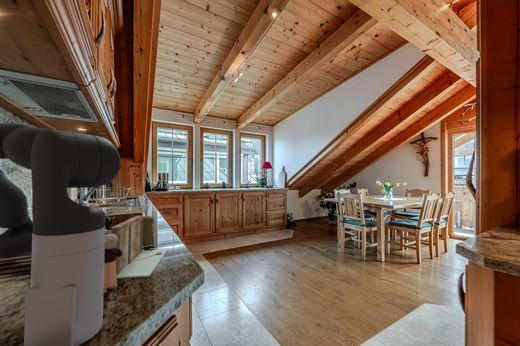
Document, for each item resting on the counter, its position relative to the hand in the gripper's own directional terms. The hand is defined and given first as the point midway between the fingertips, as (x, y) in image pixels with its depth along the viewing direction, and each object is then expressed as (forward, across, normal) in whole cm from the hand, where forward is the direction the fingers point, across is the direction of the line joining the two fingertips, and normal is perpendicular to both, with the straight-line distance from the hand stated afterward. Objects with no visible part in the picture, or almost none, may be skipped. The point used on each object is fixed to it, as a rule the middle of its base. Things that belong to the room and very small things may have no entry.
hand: (134, 235), depth 75 cm
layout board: (+4, -6, +6) cm, 10 cm away
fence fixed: (+1, -13, +6) cm, 15 cm away
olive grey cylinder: (0, +11, +7) cm, 13 cm away
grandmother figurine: (+2, -23, +7) cm, 24 cm away
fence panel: (+1, -3, +6) cm, 7 cm away
